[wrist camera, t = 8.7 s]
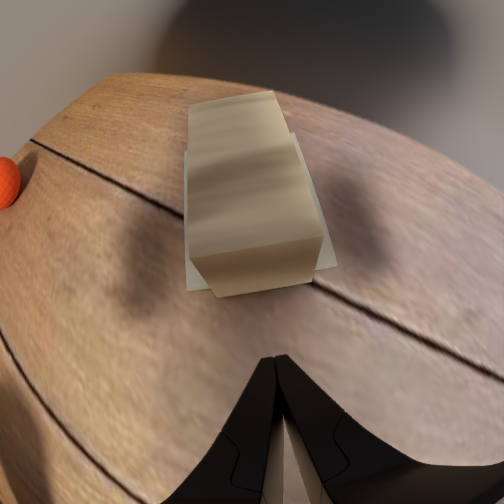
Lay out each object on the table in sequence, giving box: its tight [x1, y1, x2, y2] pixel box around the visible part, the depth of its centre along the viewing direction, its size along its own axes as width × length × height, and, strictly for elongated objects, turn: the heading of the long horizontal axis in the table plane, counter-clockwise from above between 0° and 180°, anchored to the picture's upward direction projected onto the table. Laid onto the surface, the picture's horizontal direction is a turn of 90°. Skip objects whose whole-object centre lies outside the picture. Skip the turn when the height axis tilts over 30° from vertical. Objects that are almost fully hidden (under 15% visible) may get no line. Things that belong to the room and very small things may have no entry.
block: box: [187, 91, 324, 298], centre depth 17 cm, size 6×6×12 cm
